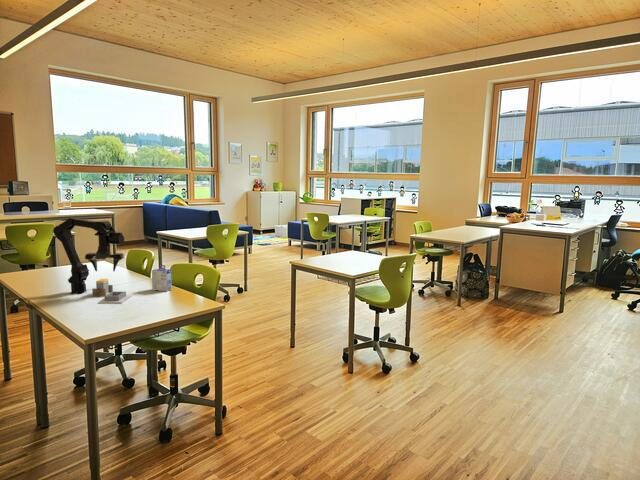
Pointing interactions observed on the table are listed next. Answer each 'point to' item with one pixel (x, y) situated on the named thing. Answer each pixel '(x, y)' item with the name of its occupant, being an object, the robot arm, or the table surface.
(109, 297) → the dock
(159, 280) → the ink cartridge box
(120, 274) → the table surface
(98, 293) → the wooden blocks
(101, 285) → the plug
